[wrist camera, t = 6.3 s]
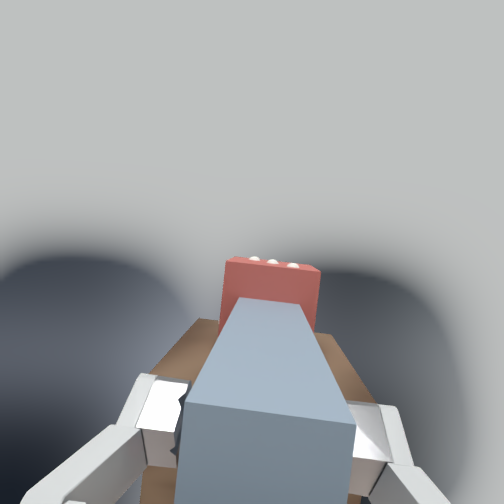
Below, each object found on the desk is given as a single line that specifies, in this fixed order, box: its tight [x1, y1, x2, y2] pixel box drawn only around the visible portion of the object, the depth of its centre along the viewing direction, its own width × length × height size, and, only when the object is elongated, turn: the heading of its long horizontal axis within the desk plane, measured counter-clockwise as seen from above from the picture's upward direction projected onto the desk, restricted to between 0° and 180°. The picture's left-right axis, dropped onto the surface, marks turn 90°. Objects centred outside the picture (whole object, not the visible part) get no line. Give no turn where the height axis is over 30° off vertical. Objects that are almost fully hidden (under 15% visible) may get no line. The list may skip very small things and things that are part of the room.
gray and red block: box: [174, 256, 357, 504], centre depth 16 cm, size 18×6×6 cm, turn 177°
